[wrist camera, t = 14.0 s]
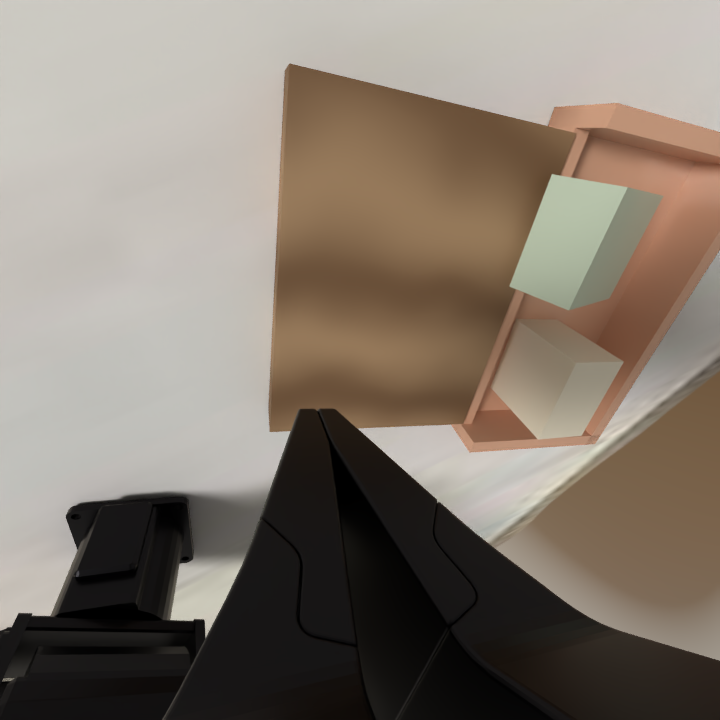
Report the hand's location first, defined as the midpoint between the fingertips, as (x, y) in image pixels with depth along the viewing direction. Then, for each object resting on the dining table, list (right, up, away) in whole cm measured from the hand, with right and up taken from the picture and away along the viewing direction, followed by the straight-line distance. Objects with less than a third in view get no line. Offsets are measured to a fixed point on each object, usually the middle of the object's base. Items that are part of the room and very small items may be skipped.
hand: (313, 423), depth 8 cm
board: (+3, +5, +11) cm, 13 cm away
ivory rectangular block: (+11, 0, +13) cm, 17 cm away
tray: (+13, +5, +14) cm, 20 cm away
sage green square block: (+11, +8, +10) cm, 16 cm away
